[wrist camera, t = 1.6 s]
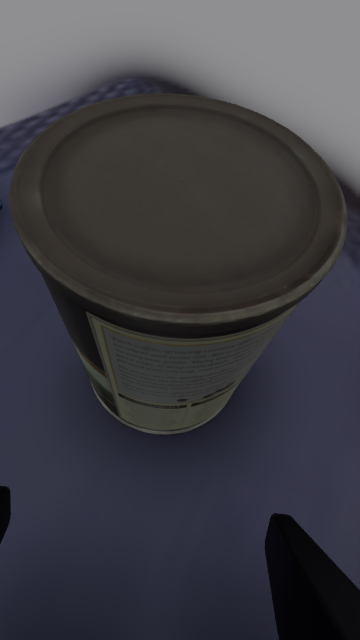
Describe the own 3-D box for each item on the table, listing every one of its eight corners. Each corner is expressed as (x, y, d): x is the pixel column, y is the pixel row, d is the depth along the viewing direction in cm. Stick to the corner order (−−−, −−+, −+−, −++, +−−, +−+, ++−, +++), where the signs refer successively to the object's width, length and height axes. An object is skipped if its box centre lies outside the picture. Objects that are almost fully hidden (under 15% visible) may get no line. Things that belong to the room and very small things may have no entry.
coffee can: (53, 380, 21) (-79, 199, 9) (144, 274, 26) (141, 63, 14) (192, 473, 19) (273, 405, 7) (263, 339, 24) (384, 159, 11)
